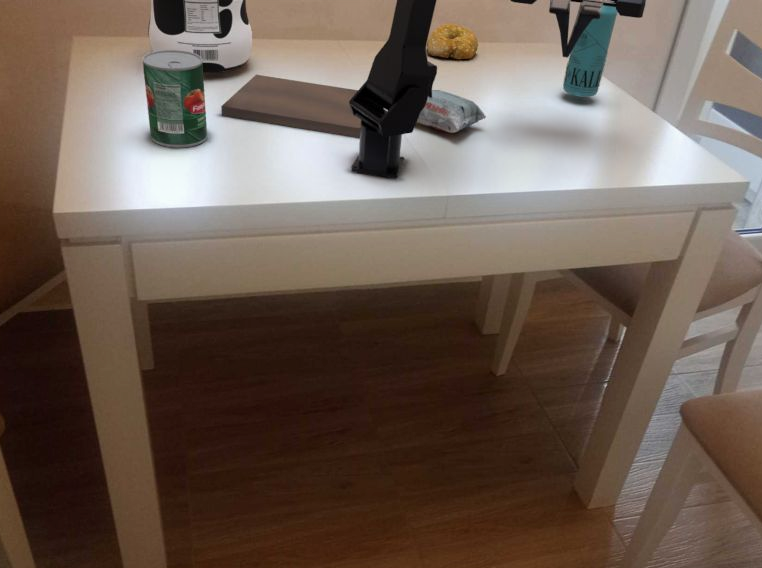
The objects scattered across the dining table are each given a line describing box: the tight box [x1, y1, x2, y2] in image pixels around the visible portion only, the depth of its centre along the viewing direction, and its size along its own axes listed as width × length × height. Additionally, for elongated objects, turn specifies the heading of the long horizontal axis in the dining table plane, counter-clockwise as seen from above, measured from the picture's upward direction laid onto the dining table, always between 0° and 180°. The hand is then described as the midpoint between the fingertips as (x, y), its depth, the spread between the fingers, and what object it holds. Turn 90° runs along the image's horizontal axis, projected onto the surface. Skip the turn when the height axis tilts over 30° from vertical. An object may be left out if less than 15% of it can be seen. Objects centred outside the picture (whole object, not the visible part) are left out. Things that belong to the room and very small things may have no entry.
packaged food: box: [416, 89, 487, 134], centre depth 121 cm, size 9×12×5 cm
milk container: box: [147, 0, 253, 74], centre depth 130 cm, size 17×17×18 cm
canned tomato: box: [141, 50, 208, 149], centre depth 107 cm, size 8×8×11 cm
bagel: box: [426, 23, 479, 60], centre depth 153 cm, size 10×11×5 cm
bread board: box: [220, 74, 361, 139], centre depth 123 cm, size 16×22×2 cm
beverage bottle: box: [562, 6, 619, 98], centre depth 133 cm, size 6×7×20 cm
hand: (565, 56), depth 116 cm, fingers closed
